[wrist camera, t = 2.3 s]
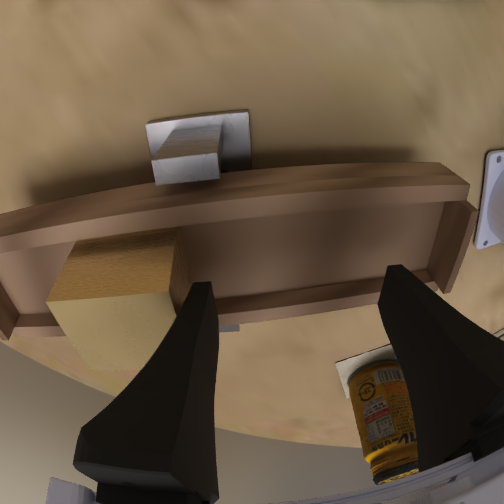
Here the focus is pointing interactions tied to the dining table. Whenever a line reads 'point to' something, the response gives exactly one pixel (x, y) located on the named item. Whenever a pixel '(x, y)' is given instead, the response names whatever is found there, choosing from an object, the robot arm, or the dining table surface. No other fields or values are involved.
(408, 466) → the condiment
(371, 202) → the balance beam
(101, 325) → the wooden cube block
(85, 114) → the dining table surface
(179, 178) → the pivot stand
